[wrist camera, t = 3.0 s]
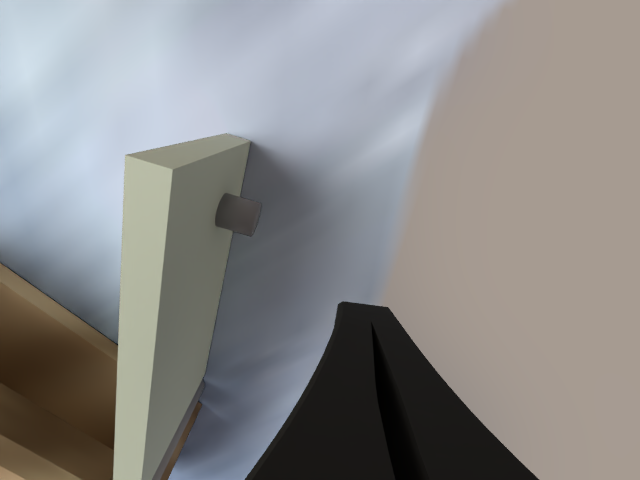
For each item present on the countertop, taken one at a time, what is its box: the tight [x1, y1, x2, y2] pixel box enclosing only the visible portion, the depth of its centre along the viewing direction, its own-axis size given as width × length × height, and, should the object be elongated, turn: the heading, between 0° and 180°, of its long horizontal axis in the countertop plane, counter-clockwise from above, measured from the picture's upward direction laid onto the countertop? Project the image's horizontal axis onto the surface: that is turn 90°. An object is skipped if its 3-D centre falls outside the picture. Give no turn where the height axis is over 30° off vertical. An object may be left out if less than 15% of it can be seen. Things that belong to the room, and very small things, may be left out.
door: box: [113, 133, 261, 480], centre depth 10 cm, size 12×2×5 cm, turn 163°
